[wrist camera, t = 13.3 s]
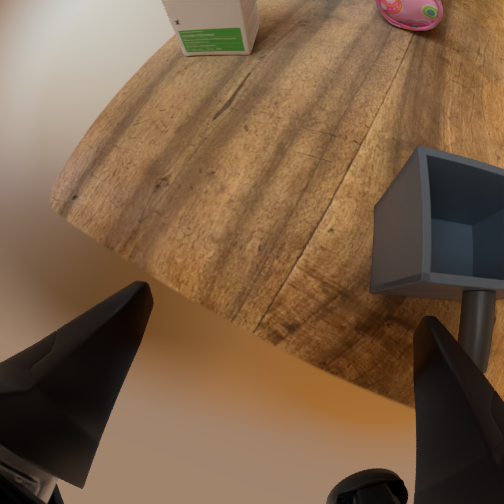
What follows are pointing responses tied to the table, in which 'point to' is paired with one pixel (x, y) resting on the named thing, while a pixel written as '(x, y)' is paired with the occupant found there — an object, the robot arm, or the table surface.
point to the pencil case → (412, 13)
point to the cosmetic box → (214, 25)
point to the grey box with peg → (444, 240)
